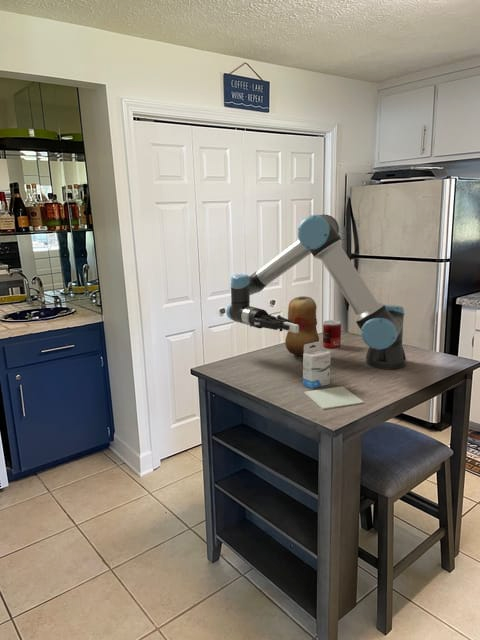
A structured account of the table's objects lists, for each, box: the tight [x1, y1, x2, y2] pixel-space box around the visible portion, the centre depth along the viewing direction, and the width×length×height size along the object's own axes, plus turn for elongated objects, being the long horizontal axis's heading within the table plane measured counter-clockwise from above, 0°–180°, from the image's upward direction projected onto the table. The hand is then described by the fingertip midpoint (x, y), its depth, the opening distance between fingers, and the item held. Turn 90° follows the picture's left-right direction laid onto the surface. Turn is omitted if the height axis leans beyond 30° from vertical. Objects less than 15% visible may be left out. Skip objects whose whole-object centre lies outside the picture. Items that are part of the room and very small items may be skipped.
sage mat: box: [303, 386, 365, 410], centre depth 150 cm, size 14×14×1 cm
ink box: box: [302, 340, 332, 390], centre depth 160 cm, size 8×5×15 cm, turn 123°
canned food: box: [322, 319, 342, 350], centre depth 204 cm, size 8×8×11 cm
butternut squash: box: [285, 296, 320, 358], centre depth 190 cm, size 14×13×25 cm
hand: (297, 329), depth 164 cm, fingers closed
